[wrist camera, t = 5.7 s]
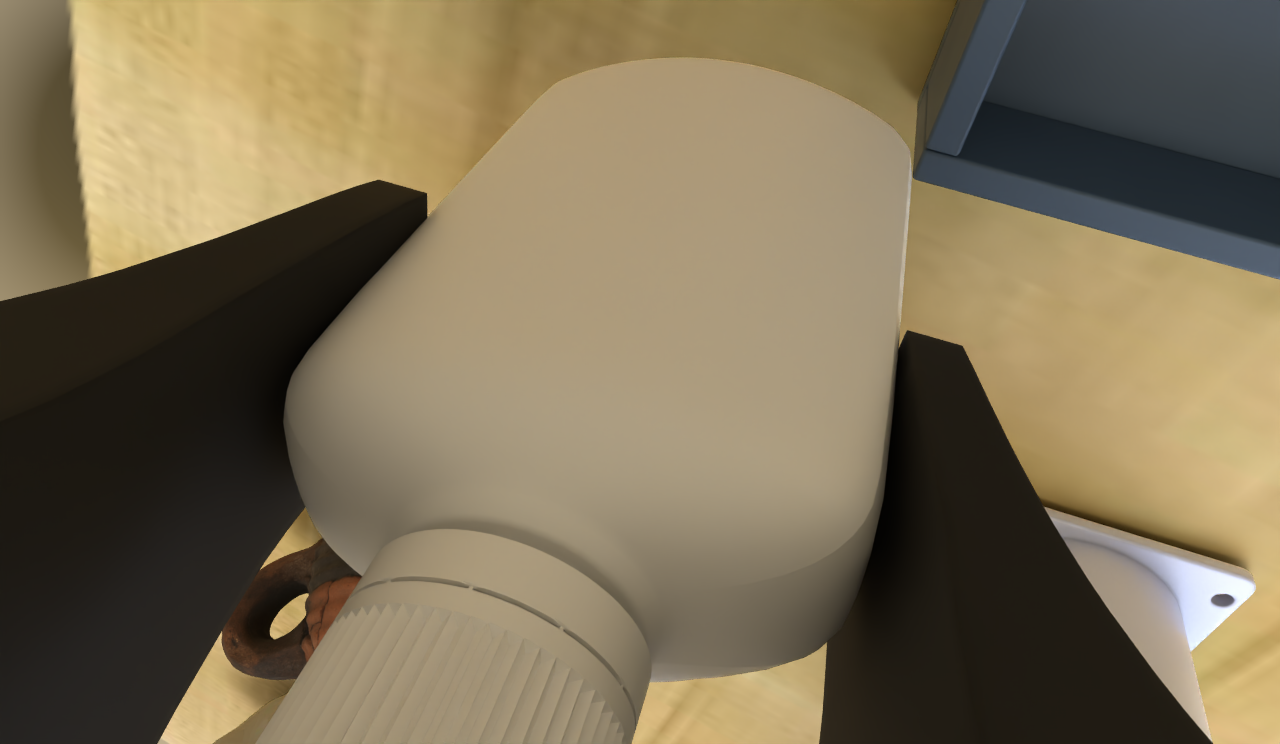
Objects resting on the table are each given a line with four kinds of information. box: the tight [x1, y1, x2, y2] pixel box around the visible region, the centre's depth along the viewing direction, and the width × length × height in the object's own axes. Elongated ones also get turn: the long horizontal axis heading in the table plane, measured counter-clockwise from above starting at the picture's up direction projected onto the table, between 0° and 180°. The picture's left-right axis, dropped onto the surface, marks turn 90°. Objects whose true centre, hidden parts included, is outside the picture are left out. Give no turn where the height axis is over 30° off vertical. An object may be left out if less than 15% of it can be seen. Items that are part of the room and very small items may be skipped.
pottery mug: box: [222, 538, 362, 680], centre depth 31 cm, size 12×10×8 cm
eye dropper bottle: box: [255, 57, 912, 744], centre depth 9 cm, size 4×6×12 cm
